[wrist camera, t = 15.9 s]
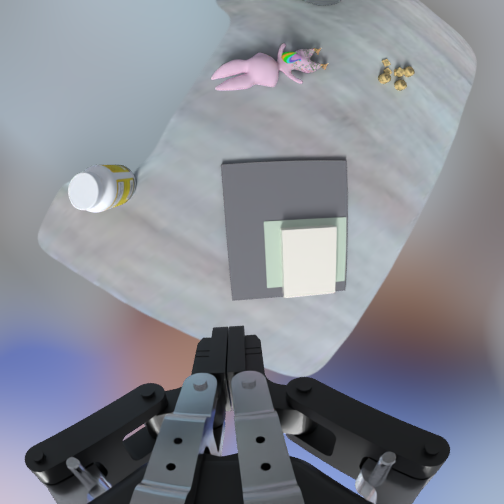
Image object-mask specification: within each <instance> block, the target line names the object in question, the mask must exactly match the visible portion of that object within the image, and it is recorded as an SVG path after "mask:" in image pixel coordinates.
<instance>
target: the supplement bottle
mask: <svg viewBox="0 0 504 504" xmlns="http://www.w3.org/2000/svg"><path fill="white" fill-rule="evenodd" d="M135 187H136V181H135V177H134V175H133V173H132V172H131V170H130V169H128V168H127V167H125V166H123V165H94V166H90V167H88V168H87V169H85V170H84V171H83V172H81V173H79V174H77V175H75V176H74V177H73V178H72V180H71V182H70V184H69V188H68V195H69V199H70V201H71V203H72V205H73V206H74V207H76V208H77V209H79V210H87V211H90V212H102V211H105V210H108V209H110V208H113V207H116V206H119V205H122V204H124V203H126V202H127V201H128V200H130V199H131V197H132V196H133V194H134V191H135Z"/></svg>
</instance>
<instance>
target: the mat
mask: <svg viewBox="0 0 504 504" xmlns="http://www.w3.org/2000/svg"><path fill="white" fill-rule="evenodd" d="M221 169H222V184H223V197H224V210H225V223H226V235H227V247H228V258H229V269H230V280H231V291H232V300H246V299H259V298H272V297H283V293H282V261H281V235H280V228H287V227H303V226H320V225H334V226H336V227H337V243H336V281H335V291H343V290H345V285H346V265H347V221H348V211H347V167H346V160H305V161H271V162H252V163H236V164H223V165H221Z"/></svg>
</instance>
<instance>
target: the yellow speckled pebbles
mask: <svg viewBox="0 0 504 504" xmlns="http://www.w3.org/2000/svg"><path fill="white" fill-rule="evenodd" d="M382 62H383V64H384V66H388V65H391V64H390V62H389V61H388V59H386V60H383V61H382ZM383 71H384V72H385V73H383V74H381V75H380V76H378V80H379V81H380V83H383V84H385V83H387V82H389V81H390V80H391V76H390V75H389V74H391V73H392V72H391V70H390V69H389V68H387V69H385V70H383ZM403 74H404V75H405V77H410V76H412V75H413V74H414V69H413V68H412V67H409V66H408V67H406V68H404V69H401V68H400V67H399V68H398V69H397V70H396V69H395V70H394V75H395V76H397V77H401V76H403ZM394 85H395V88H396V89H397V90H400V91H401V90H403V89H405V88H406V87H407V84H406V82H405V81H404V80H401V79H400V80H398V81H396V82H395V83H394Z"/></svg>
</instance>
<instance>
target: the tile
mask: <svg viewBox="0 0 504 504" xmlns="http://www.w3.org/2000/svg"><path fill="white" fill-rule="evenodd" d="M280 235H281V261H282V293H283V296H284V298H290V297H301V296H311V295H320V294H330V293H335V281H336V243H337V227H336V226H334V225H320V226H303V227H287V228H280Z"/></svg>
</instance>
